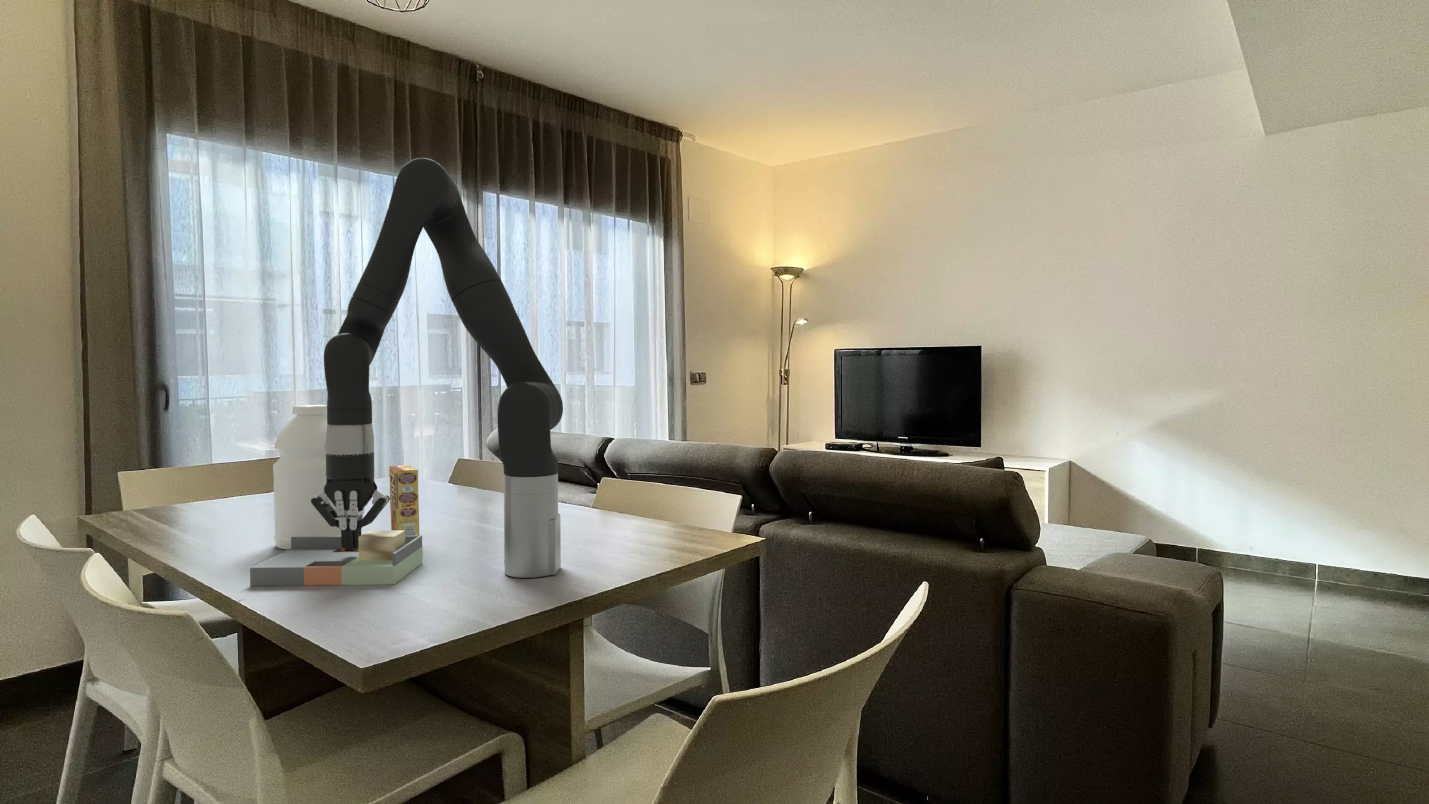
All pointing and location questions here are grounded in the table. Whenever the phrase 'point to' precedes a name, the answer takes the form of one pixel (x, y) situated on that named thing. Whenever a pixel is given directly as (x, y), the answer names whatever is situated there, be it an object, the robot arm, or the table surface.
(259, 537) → the table surface
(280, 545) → the bottle
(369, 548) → the birch block
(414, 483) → the candy box
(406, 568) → the box
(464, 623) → the table surface
